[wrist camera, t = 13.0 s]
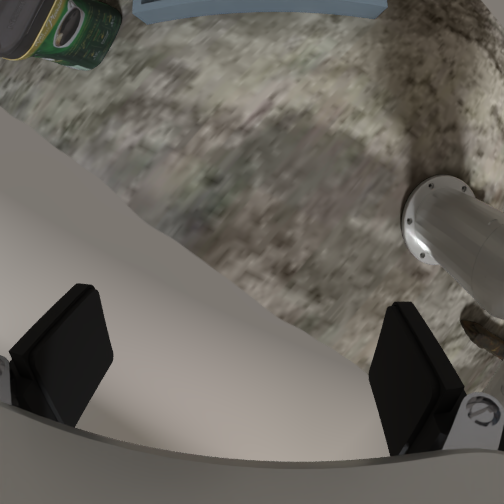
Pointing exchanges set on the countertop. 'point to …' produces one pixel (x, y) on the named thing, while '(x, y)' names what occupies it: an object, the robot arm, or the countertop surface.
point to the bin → (251, 8)
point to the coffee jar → (58, 31)
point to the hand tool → (484, 338)
